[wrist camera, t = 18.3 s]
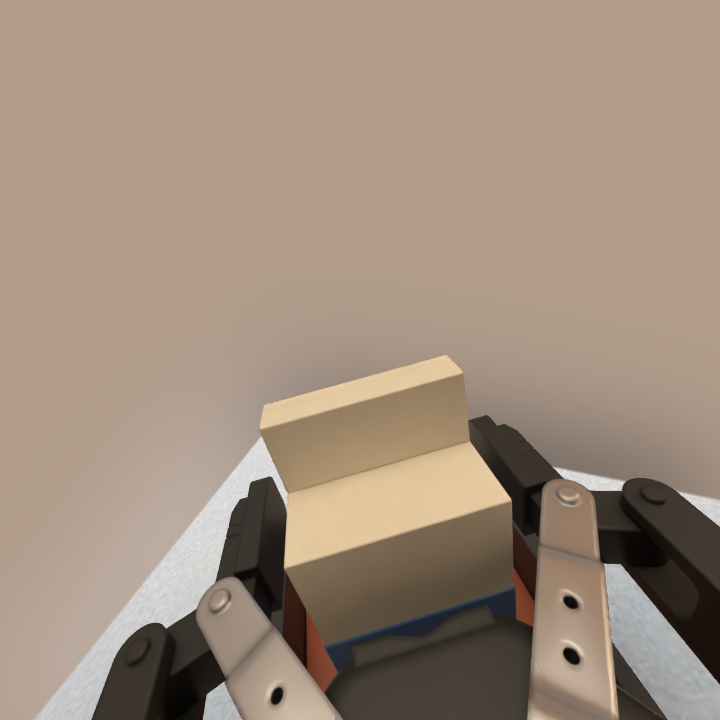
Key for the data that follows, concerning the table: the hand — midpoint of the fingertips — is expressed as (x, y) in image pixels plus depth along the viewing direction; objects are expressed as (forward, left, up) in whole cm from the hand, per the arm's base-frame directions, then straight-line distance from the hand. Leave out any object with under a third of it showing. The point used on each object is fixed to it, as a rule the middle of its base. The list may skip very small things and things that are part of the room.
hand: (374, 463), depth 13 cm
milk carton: (0, -2, -10) cm, 10 cm away
